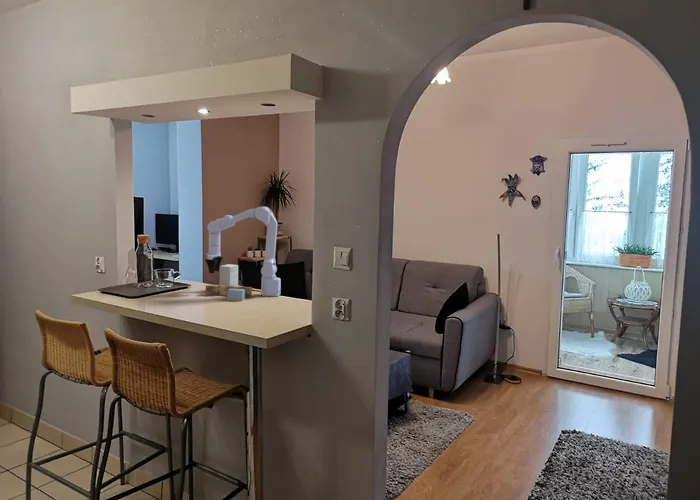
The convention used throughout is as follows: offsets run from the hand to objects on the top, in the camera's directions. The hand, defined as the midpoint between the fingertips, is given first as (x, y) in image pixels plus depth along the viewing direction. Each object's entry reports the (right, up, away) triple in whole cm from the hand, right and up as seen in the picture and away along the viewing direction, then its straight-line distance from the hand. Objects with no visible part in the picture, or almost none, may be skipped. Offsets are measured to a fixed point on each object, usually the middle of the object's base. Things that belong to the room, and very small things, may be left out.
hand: (214, 272), depth 270 cm
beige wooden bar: (+9, -11, -7) cm, 16 cm away
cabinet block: (+14, -13, -16) cm, 24 cm away
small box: (+6, -10, +7) cm, 13 cm away
